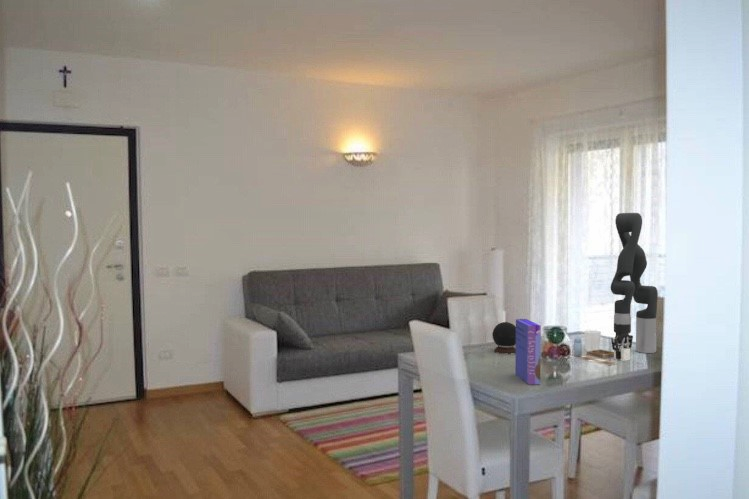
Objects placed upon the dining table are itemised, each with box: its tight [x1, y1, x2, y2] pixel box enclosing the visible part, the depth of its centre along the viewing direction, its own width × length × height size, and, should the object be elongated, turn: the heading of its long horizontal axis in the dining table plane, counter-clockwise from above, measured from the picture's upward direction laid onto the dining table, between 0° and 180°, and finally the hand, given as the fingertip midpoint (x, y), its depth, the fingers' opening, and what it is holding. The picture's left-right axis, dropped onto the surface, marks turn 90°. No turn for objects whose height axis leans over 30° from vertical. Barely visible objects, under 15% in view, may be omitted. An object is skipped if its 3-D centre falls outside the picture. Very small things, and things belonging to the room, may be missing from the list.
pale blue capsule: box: [573, 336, 583, 357], centre depth 301 cm, size 4×4×9 cm
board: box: [569, 354, 617, 367], centre depth 294 cm, size 7×22×1 cm, turn 34°
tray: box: [586, 349, 614, 360], centre depth 303 cm, size 10×10×2 cm
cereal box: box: [514, 318, 542, 386], centre depth 259 cm, size 17×5×24 cm, turn 5°
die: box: [613, 347, 631, 362], centre depth 295 cm, size 5×5×5 cm
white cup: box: [583, 329, 602, 352], centre depth 316 cm, size 8×8×10 cm
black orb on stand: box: [492, 321, 516, 355], centre depth 315 cm, size 13×13×15 cm
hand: (621, 358), depth 295 cm, fingers closed on die, 5 cm apart
